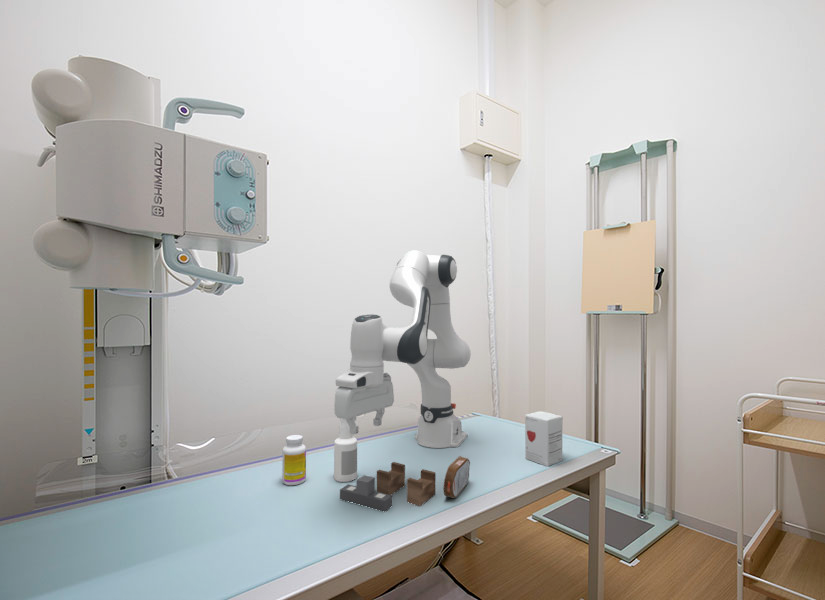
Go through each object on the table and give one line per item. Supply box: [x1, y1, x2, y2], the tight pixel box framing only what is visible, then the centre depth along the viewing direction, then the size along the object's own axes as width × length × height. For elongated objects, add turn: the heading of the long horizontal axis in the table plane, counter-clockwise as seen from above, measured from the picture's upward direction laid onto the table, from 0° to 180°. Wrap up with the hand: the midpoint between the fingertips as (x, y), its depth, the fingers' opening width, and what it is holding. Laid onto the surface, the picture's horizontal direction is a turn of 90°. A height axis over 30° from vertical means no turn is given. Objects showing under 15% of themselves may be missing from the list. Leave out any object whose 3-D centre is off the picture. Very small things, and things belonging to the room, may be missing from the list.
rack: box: [376, 461, 437, 507], centre depth 112 cm, size 8×14×6 cm, turn 57°
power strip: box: [339, 474, 393, 513], centre depth 107 cm, size 4×14×6 cm, turn 62°
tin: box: [443, 456, 471, 499], centre depth 114 cm, size 15×3×8 cm, turn 154°
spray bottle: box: [333, 418, 358, 483], centre depth 123 cm, size 7×7×18 cm
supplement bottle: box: [281, 434, 307, 486], centre depth 120 cm, size 7×7×13 cm
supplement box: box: [524, 410, 563, 467], centre depth 137 cm, size 9×9×15 cm
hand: (366, 429), depth 107 cm, fingers open, 8 cm apart
